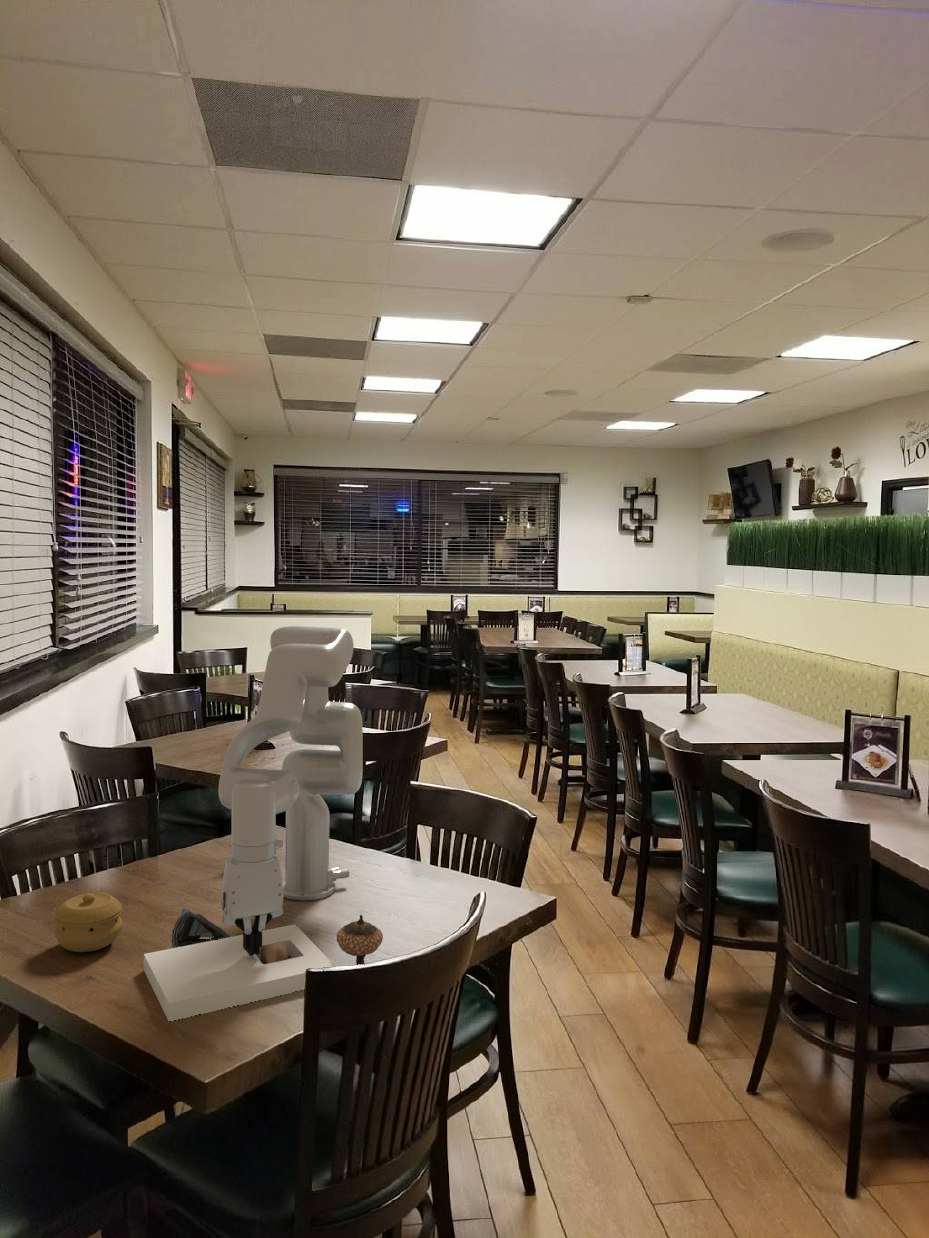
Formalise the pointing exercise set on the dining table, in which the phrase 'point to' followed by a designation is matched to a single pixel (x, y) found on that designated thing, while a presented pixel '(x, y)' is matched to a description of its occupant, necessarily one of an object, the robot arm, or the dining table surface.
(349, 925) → the acorn
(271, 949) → the brown wooden cylinder
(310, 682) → the robot arm
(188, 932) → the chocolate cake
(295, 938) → the plate
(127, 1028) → the dining table surface
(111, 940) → the pot
